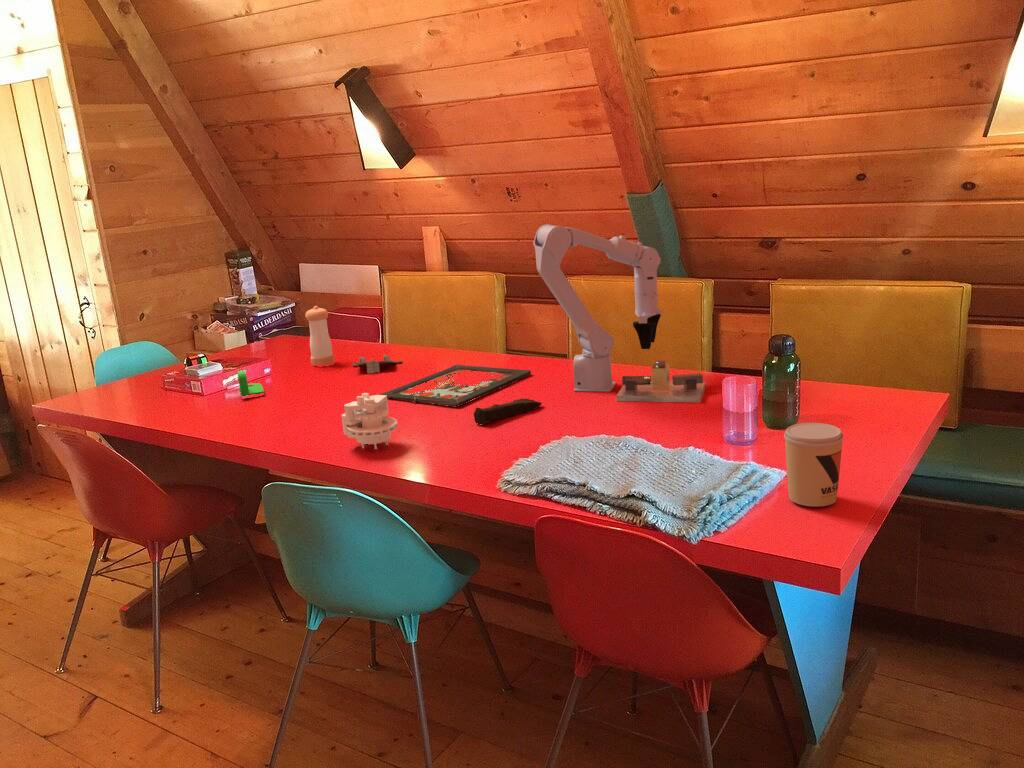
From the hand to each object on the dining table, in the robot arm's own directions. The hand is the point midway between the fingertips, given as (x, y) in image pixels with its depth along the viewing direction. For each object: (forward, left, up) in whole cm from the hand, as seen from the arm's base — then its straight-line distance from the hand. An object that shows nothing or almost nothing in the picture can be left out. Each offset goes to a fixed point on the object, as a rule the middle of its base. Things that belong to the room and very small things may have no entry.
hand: (648, 345), depth 230 cm
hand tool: (-26, -40, -8) cm, 49 cm away
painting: (-51, -8, -10) cm, 53 cm away
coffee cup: (+39, -76, -10) cm, 86 cm away
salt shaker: (-104, +15, -10) cm, 106 cm away
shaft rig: (+5, -13, -9) cm, 17 cm away
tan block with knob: (+5, -13, -8) cm, 16 cm away
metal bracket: (-77, +13, -8) cm, 78 cm away
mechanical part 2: (-52, -57, -10) cm, 78 cm away
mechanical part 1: (-109, -17, -10) cm, 111 cm away
